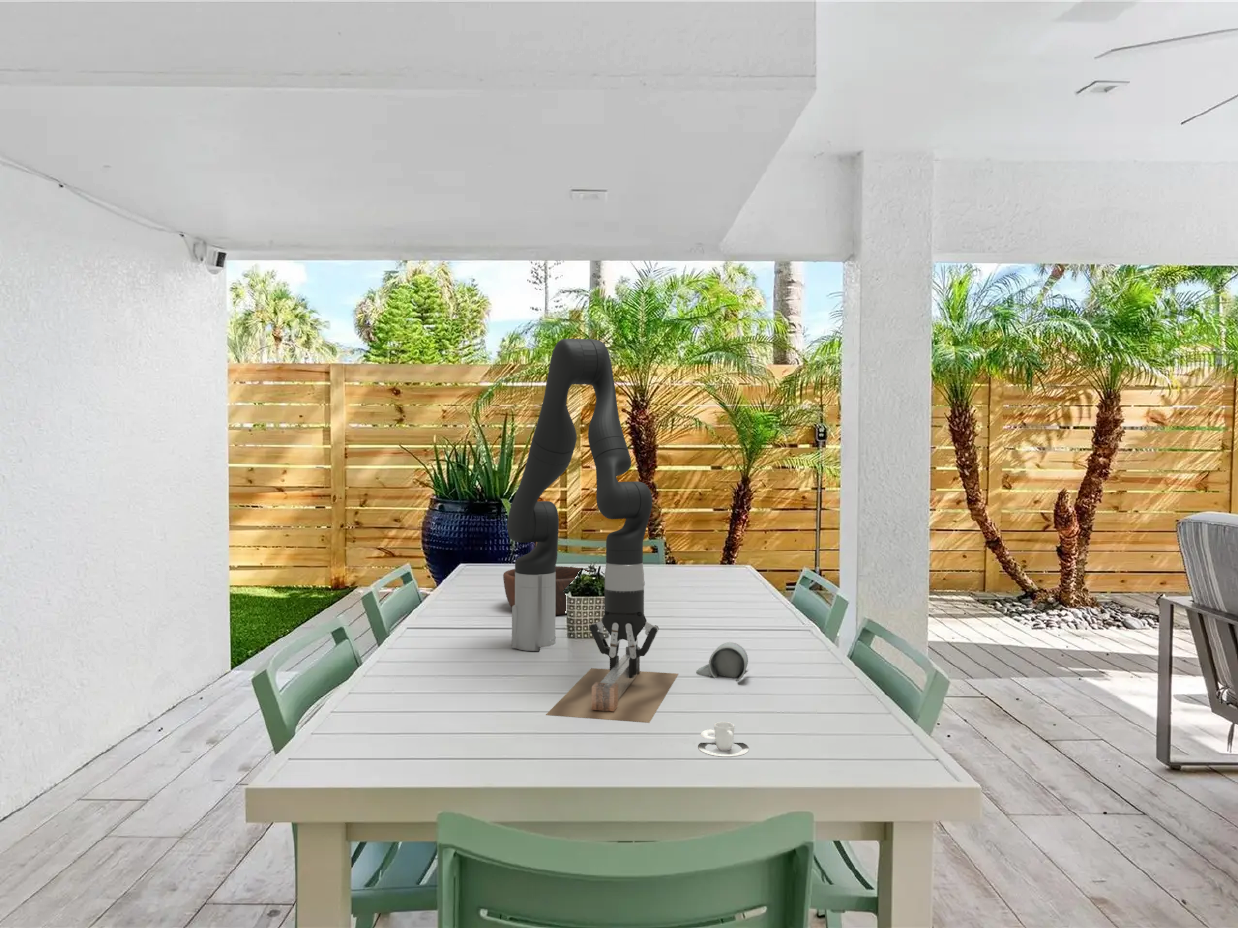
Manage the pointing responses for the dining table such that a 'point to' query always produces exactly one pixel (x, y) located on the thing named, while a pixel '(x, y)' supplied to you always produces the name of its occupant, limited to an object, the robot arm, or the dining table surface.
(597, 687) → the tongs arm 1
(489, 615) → the dining table surface
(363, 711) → the dining table surface
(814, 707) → the dining table surface
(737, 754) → the teacup and saucer
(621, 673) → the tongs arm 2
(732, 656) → the ceramic mug
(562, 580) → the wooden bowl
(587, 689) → the walnut board
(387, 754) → the dining table surface
